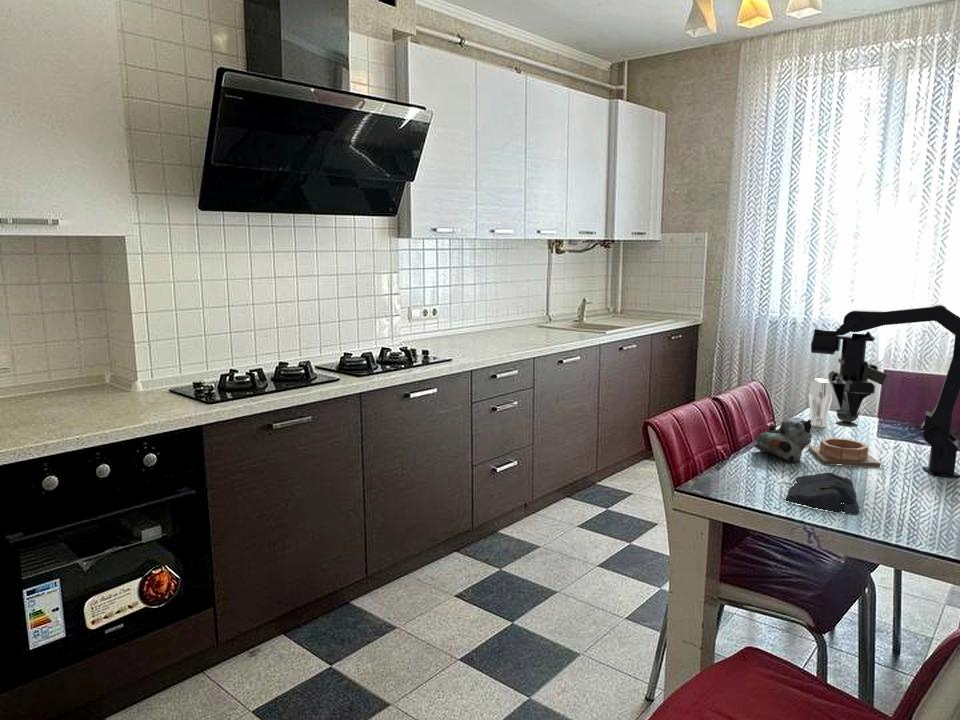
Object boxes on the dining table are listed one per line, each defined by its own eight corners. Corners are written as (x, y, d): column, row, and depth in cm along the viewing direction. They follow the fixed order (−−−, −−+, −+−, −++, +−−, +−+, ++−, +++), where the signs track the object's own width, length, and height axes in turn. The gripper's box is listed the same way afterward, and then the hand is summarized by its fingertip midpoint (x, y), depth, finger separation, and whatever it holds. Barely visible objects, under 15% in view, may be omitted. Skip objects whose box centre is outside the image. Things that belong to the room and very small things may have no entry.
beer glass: (812, 421, 235) (816, 377, 233) (833, 425, 230) (837, 380, 228) (802, 424, 231) (806, 380, 229) (823, 429, 226) (828, 383, 223)
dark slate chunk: (861, 490, 170) (863, 471, 169) (858, 519, 151) (860, 498, 150) (793, 479, 177) (794, 461, 177) (781, 506, 159) (783, 486, 158)
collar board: (879, 467, 186) (881, 452, 185) (823, 464, 188) (825, 449, 188) (860, 452, 200) (862, 438, 199) (808, 449, 202) (809, 435, 201)
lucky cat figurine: (753, 447, 203) (778, 406, 202) (793, 469, 198) (819, 427, 197) (751, 445, 190) (778, 401, 189) (794, 469, 185) (822, 423, 184)
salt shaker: (863, 427, 190) (867, 383, 188) (841, 427, 190) (845, 383, 188) (851, 422, 196) (855, 379, 194) (830, 421, 196) (834, 379, 194)
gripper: (899, 362, 179) (893, 422, 182) (872, 352, 197) (867, 406, 200) (852, 361, 181) (846, 419, 184) (830, 351, 199) (825, 404, 202)
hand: (847, 412), depth 192 cm, fingers closed on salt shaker, 8 cm apart
